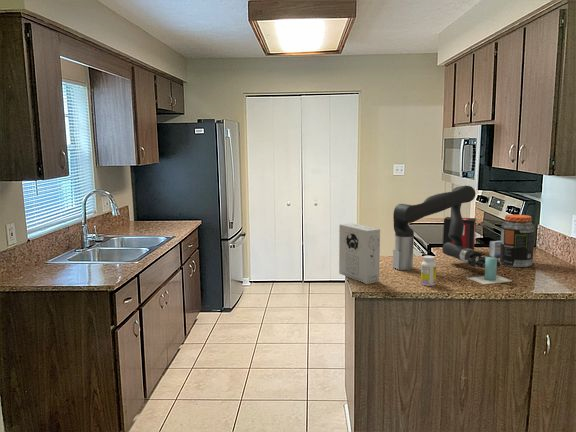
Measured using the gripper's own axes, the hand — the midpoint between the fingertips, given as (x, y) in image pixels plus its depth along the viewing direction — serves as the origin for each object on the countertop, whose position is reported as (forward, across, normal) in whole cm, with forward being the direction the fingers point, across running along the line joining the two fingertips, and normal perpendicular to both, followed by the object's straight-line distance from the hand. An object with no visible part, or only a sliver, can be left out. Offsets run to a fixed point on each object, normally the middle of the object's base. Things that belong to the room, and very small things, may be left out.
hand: (491, 264), depth 220 cm
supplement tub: (-23, +31, +8) cm, 39 cm away
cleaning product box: (-56, +18, +8) cm, 59 cm away
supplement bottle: (-1, -31, +8) cm, 32 cm away
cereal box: (-19, -58, +8) cm, 62 cm away
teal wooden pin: (0, 0, +7) cm, 7 cm away
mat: (-1, 0, +7) cm, 7 cm away
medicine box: (-41, +34, +8) cm, 54 cm away
